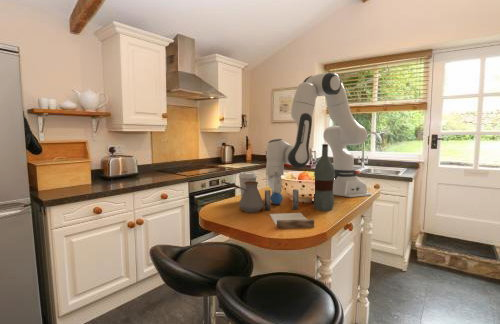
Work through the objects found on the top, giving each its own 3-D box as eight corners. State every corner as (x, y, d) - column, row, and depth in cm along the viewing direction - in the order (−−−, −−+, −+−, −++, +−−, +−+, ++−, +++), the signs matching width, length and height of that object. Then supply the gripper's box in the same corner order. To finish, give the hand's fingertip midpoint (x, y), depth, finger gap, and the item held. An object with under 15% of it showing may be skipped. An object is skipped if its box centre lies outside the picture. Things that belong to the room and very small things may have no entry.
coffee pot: (252, 205, 138) (252, 175, 136) (269, 210, 130) (269, 178, 128) (216, 214, 124) (215, 180, 123) (232, 220, 116) (231, 184, 114)
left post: (269, 209, 131) (269, 190, 130) (270, 210, 129) (270, 191, 128) (264, 209, 131) (264, 190, 130) (265, 210, 129) (265, 191, 128)
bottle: (319, 204, 139) (321, 143, 135) (337, 208, 132) (339, 144, 129) (309, 208, 132) (310, 144, 129) (327, 212, 126) (329, 145, 122)
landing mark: (300, 213, 125) (300, 212, 125) (310, 223, 111) (310, 223, 111) (269, 214, 123) (269, 214, 123) (275, 225, 109) (275, 224, 109)
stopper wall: (312, 225, 109) (312, 219, 109) (314, 227, 107) (314, 220, 107) (276, 226, 107) (276, 220, 107) (277, 228, 105) (277, 222, 105)
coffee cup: (240, 199, 150) (240, 171, 149) (258, 199, 149) (258, 171, 147) (237, 203, 141) (236, 174, 139) (256, 204, 140) (256, 174, 138)
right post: (297, 208, 133) (297, 189, 132) (298, 209, 130) (299, 190, 129) (291, 208, 133) (292, 189, 132) (293, 209, 130) (293, 190, 129)
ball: (280, 200, 144) (281, 189, 142) (283, 205, 139) (284, 194, 137) (269, 201, 143) (269, 190, 141) (271, 207, 138) (272, 195, 136)
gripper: (285, 174, 133) (284, 203, 134) (277, 168, 153) (276, 193, 154) (272, 174, 132) (271, 203, 133) (265, 168, 152) (265, 193, 154)
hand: (274, 198), depth 144 cm, fingers closed
